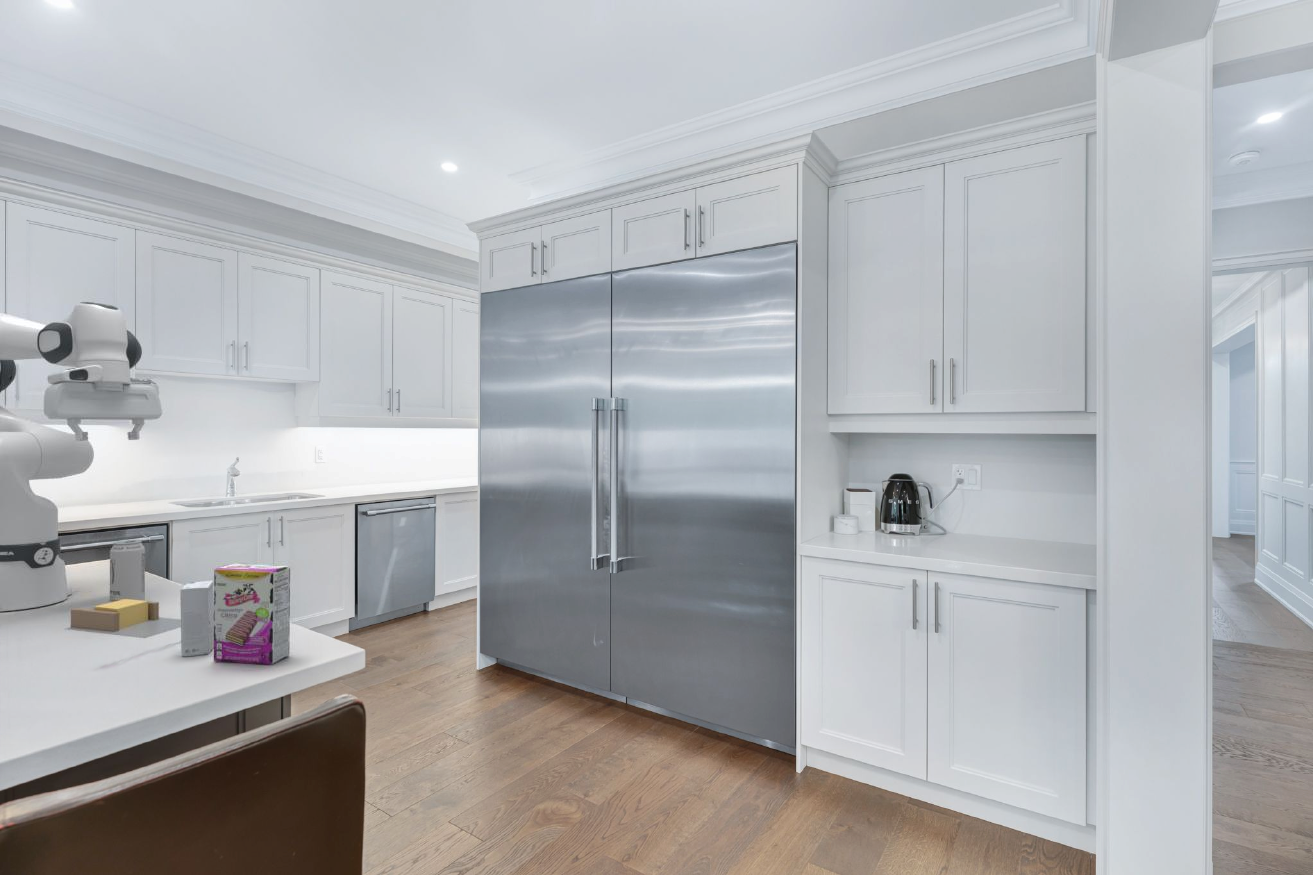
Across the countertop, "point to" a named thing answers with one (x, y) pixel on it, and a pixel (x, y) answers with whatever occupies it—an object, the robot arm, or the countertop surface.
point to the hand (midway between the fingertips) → (108, 440)
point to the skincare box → (197, 618)
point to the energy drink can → (127, 570)
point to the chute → (110, 622)
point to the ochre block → (127, 611)
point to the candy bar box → (251, 613)
